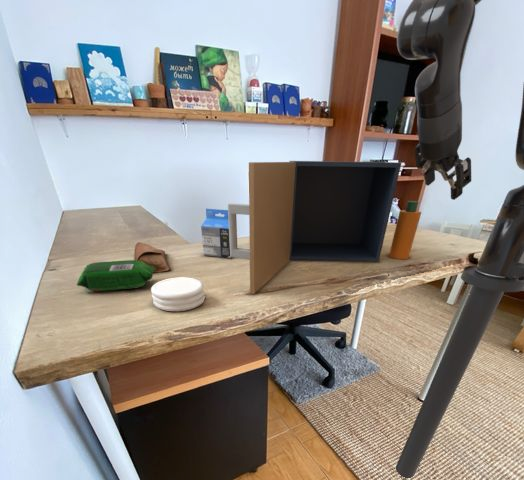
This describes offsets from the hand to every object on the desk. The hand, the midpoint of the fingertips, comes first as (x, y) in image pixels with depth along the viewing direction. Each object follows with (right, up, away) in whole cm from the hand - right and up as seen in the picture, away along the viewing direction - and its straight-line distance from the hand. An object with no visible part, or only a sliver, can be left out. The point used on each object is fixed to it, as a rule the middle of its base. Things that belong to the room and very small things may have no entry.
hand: (442, 189), depth 71 cm
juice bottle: (-2, -11, +18) cm, 21 cm away
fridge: (-23, -9, +20) cm, 32 cm away
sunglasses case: (-74, -15, +10) cm, 76 cm away
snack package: (-75, -25, -5) cm, 80 cm away
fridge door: (-44, -20, +3) cm, 48 cm away
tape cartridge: (-57, -11, +17) cm, 60 cm away
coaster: (-60, -29, -12) cm, 68 cm away
